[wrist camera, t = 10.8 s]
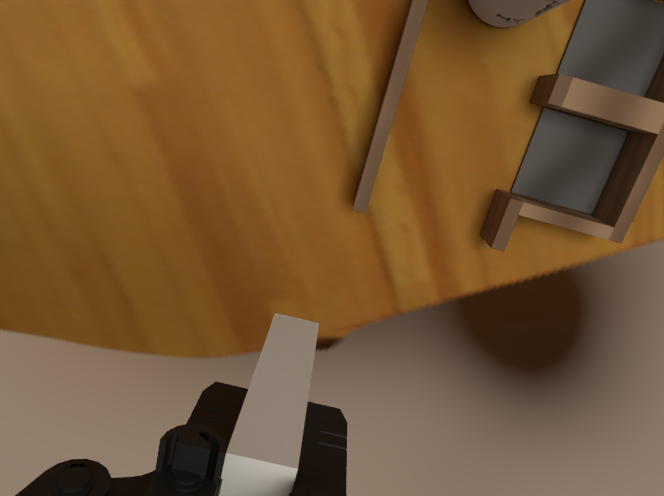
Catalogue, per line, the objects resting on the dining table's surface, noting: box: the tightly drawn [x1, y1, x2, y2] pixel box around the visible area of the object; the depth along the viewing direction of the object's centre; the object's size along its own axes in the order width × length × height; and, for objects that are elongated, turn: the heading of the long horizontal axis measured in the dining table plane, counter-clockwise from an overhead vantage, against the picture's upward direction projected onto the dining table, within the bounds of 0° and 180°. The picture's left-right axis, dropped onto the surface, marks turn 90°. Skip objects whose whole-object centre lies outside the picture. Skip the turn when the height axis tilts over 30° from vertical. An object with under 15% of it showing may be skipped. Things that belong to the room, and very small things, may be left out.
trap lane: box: [353, 0, 664, 252], centre depth 35 cm, size 20×24×4 cm
